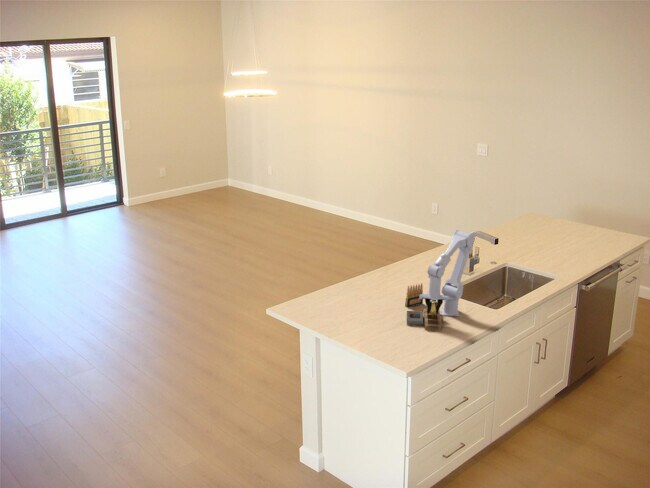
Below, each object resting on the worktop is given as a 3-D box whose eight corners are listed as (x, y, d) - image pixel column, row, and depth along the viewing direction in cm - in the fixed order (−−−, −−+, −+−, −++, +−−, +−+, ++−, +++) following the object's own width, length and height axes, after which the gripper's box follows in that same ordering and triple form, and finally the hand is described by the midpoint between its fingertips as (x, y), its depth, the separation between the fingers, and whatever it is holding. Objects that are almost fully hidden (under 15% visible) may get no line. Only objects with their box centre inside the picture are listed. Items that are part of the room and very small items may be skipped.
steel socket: (406, 315, 373) (406, 310, 372) (422, 316, 373) (422, 311, 372) (406, 324, 362) (407, 320, 361) (422, 325, 361) (423, 321, 360)
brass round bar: (428, 317, 368) (429, 300, 365) (435, 317, 367) (437, 301, 365) (429, 319, 364) (430, 303, 361) (436, 320, 364) (437, 304, 361)
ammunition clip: (407, 307, 383) (408, 286, 379) (405, 306, 384) (406, 285, 380) (422, 303, 388) (424, 283, 384) (420, 302, 390) (422, 282, 386)
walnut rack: (423, 312, 377) (424, 308, 376) (439, 313, 376) (439, 309, 375) (424, 329, 357) (425, 325, 356) (441, 330, 356) (441, 326, 355)
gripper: (420, 290, 357) (418, 314, 362) (449, 291, 356) (447, 316, 360) (420, 284, 364) (418, 309, 368) (448, 286, 363) (446, 310, 367)
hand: (432, 312), depth 365 cm, fingers closed on brass round bar, 4 cm apart
